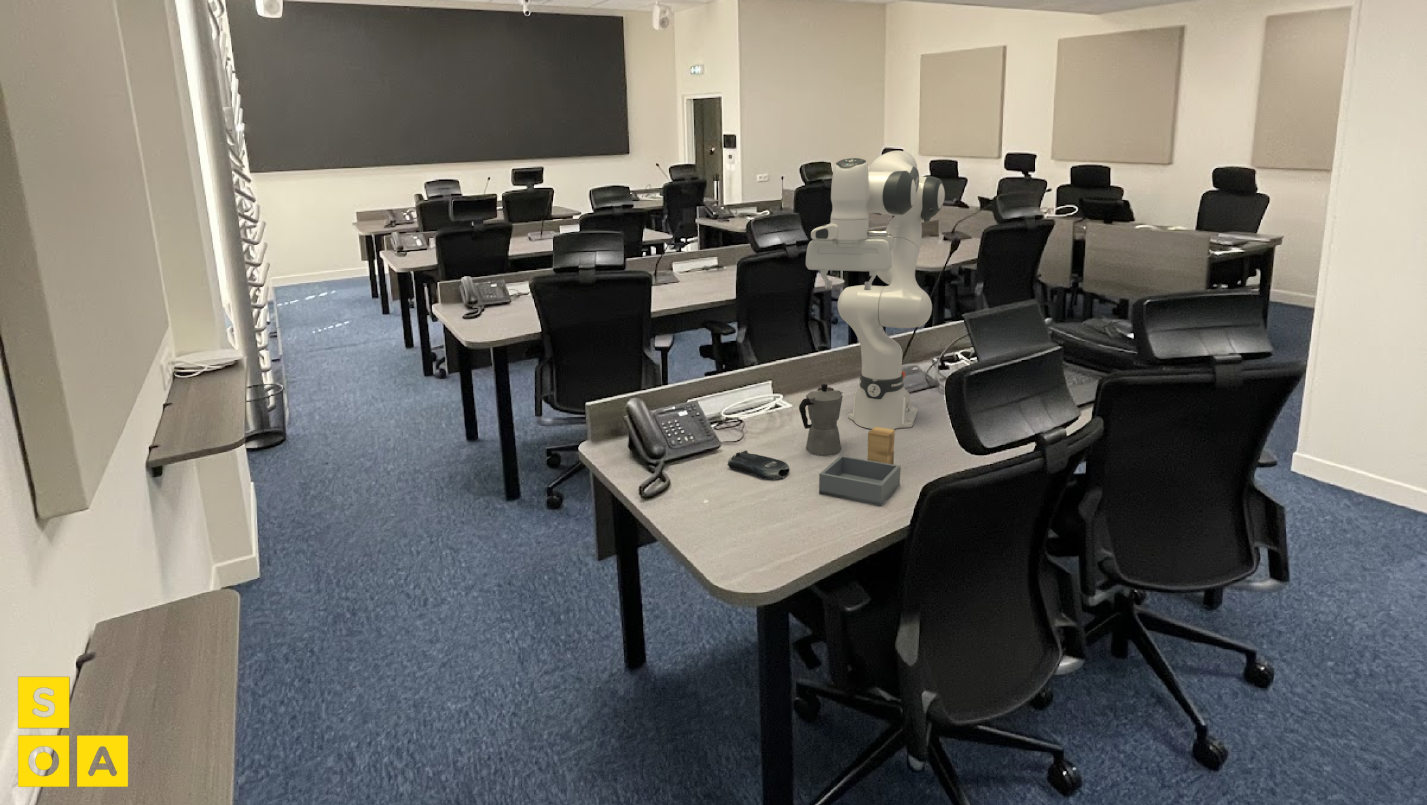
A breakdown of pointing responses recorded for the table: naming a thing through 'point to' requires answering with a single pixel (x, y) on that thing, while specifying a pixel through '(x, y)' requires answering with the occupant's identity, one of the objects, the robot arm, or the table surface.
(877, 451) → the oak block
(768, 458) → the electronic device
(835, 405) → the coffeepot
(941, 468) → the table surface
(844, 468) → the desk bin
